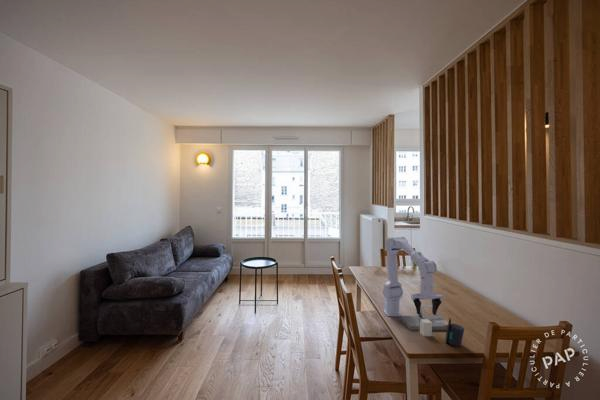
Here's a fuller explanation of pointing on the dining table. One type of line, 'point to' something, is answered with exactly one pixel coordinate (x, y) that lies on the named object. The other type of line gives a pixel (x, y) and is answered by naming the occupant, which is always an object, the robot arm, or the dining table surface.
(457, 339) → the speaker
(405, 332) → the dining table surface
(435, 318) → the power strip
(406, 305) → the dining table surface
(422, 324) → the plug
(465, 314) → the dining table surface
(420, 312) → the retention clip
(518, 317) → the dining table surface
